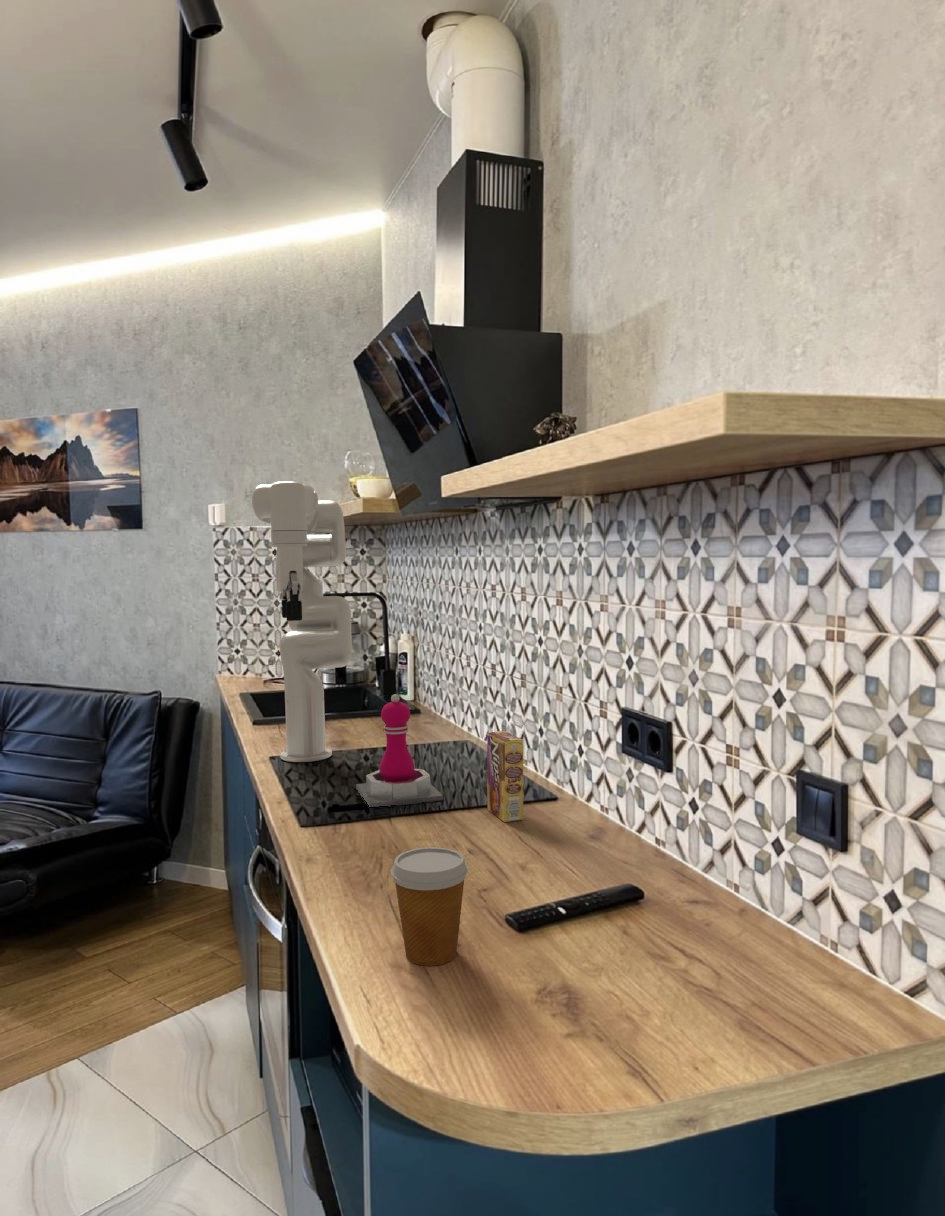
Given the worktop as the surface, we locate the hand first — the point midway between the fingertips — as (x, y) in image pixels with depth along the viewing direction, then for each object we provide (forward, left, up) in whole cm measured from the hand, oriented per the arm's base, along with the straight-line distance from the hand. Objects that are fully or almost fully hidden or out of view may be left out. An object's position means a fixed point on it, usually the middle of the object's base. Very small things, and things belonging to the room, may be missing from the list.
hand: (291, 619), depth 181 cm
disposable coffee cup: (+86, +7, -36) cm, 94 cm away
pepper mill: (+16, +19, -36) cm, 43 cm away
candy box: (+37, +35, -36) cm, 63 cm away
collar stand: (+16, +19, -36) cm, 44 cm away
